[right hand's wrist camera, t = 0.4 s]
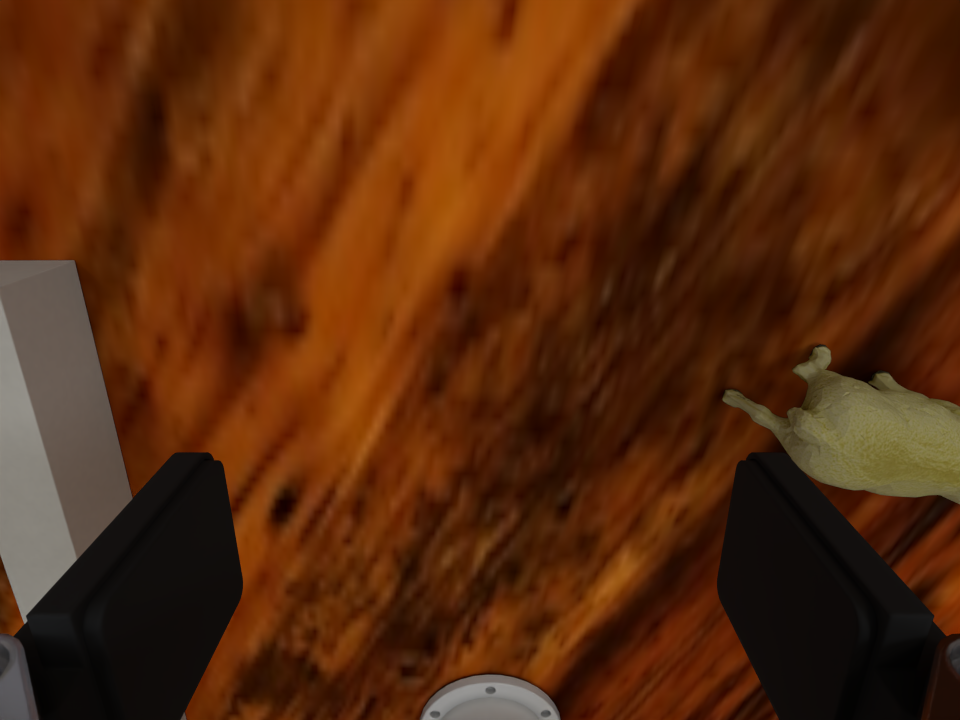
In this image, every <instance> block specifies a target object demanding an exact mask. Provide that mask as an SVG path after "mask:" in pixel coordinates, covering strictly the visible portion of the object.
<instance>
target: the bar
mask: <svg viewBox="0 0 960 720" xmlns="http://www.w3.org/2000/svg"><path fill="white" fill-rule="evenodd" d="M132 499H133V498H132V494H131V490H130V486H129V482H128V478H127V474H126V470H125V465H124V461H123V457H122V453H121V449H120V445H119V441H118V437H117V433H116V429H115V424H114V420H113V416H112V412H111V408H110V404H109V400H108V396H107V392H106V387H105V383H104V379H103V375H102V371H101V367H100V363H99V359H98V355H97V351H96V346H95V342H94V338H93V334H92V330H91V326H90V322H89V318H88V314H87V310H86V305H85V301H84V297H83V293H82V289H81V285H80V281H79V277H78V273H77V269H76V264H75V261H74V260H25V261H0V555H1V558H2V561H3V564H4V567H5V570H6V572H7V575H8V578H9V581H10V584H11V587H12V590H13V593H14V595H15V598H16V601H17V604H18V607H19V610H20V613H21V616H22V618H23V621H24V624H25V623H26V622H27V618H26V615H27V614H28V613H29V612H30V611H31V610H32V608H33V607H34V606H35V605H36V604H37V603H38V602H39V601H40V600H41V599H42V597H43V596H44V595H45V594H46V593H47V592H48V591H49V590H50V589H51V588H52V587H53V585H54V584H55V583H56V582H57V581H58V580H59V579H60V578H61V577H62V576H63V574H64V573H65V572H66V571H67V570H68V569H69V568H70V567H71V566H72V565H73V563H74V562H75V561H76V560H77V559H78V558H79V557H80V556H81V555H82V554H83V553H84V551H85V550H86V549H87V548H88V547H89V546H90V545H91V544H92V543H93V542H94V540H95V539H96V538H97V537H98V536H99V535H100V534H101V533H102V532H103V531H104V529H105V528H106V527H107V526H108V525H109V524H110V523H111V522H112V521H113V520H114V519H115V517H116V516H117V515H118V514H119V513H120V512H121V511H122V510H123V509H124V508H125V506H126V505H127V504H128V503H129V502H130V501H131V500H132ZM181 720H186V716H185V712H184V714H183V716H182V718H181Z"/></svg>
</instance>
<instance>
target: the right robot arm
mask: <svg viewBox="0 0 960 720" xmlns="http://www.w3.org/2000/svg"><path fill="white" fill-rule="evenodd" d="M242 590H243V578H242V572H241V566H240V560H239V554H238V549H237V543H236V537H235V531H234V525H233V519H232V513H231V508H230V502H229V496H228V490H227V484H226V478H225V472H224V467H223V464H222V463H221V461H219V460H214V458H213V457H212V455H211V454H210V453H175V454H173V455H172V456H171V457H170V458H169V459H168V460H167V462H166V463H165V464H164V465H163V466H162V467H161V468H160V469H159V470H158V471H157V472H156V474H155V475H154V476H153V477H152V478H151V479H150V480H149V481H148V482H147V483H146V485H145V486H144V487H143V488H142V489H141V490H140V491H139V492H138V493H137V494H136V496H135V497H134V498H133V499H132V500H131V501H130V502H129V503H128V504H127V505H126V506H125V508H124V509H123V510H122V511H121V512H120V513H119V514H118V515H117V516H116V517H115V519H114V520H113V521H112V522H111V523H110V524H109V525H108V526H107V527H106V528H105V529H104V531H103V532H102V533H101V534H100V535H99V536H98V537H97V538H96V539H95V540H94V542H93V543H92V544H91V545H90V546H89V547H88V548H87V549H86V550H85V551H84V553H83V554H82V555H81V556H80V557H79V558H78V559H77V560H76V561H75V562H74V563H73V565H72V566H71V567H70V568H69V569H68V570H67V571H66V572H65V573H64V574H63V576H62V577H61V578H60V579H59V580H58V581H57V582H56V583H55V584H54V585H53V587H52V588H51V589H50V590H49V591H48V592H47V593H46V594H45V595H44V596H43V597H42V599H41V600H40V601H39V602H38V603H37V604H36V605H35V606H34V607H33V608H32V610H31V611H30V612H29V613H28V614H27V615H26V618H27V622H26V623H25V624H24V625H23V626H22V628H21V629H20V630H19V631H18V632H17V633H16V634H15V635H14V636H11V635H9V634H0V720H181V718H182V716H183V714H184V712H185V710H186V708H187V706H188V704H189V702H190V700H191V698H192V696H193V694H194V692H195V690H196V688H197V686H198V684H199V682H200V680H201V678H202V676H203V674H204V672H205V670H206V668H207V666H208V664H209V662H210V660H211V658H212V656H213V654H214V652H215V650H216V648H217V646H218V644H219V642H220V640H221V638H222V636H223V634H224V632H225V630H226V628H227V626H228V624H229V622H230V620H231V617H232V615H233V613H234V611H235V609H236V607H237V605H238V603H239V601H240V599H241V595H242ZM717 590H718V595H719V599H720V601H721V603H722V605H723V607H724V609H725V611H726V613H727V615H728V617H729V620H730V622H731V624H732V626H733V628H734V630H735V632H736V634H737V636H738V638H739V640H740V642H741V644H742V646H743V648H744V650H745V652H746V654H747V656H748V658H749V660H750V662H751V664H752V666H753V668H754V670H755V672H756V674H757V676H758V678H759V680H760V682H761V684H762V686H763V688H764V690H765V692H766V694H767V696H768V698H769V700H770V702H771V704H772V706H773V708H774V710H775V712H776V714H777V716H778V718H779V720H960V634H951V635H949V636H946V635H945V634H944V633H943V632H942V631H941V630H940V629H939V628H938V626H937V625H936V624H935V623H934V622H933V618H934V615H933V614H932V613H931V612H930V611H929V610H928V608H927V607H926V606H925V605H924V604H923V603H922V602H921V601H920V600H919V599H918V597H917V596H916V595H915V594H914V593H913V592H912V591H911V590H910V589H909V588H908V587H907V585H906V584H905V583H904V582H903V581H902V580H901V579H900V578H899V577H898V576H897V574H896V573H895V572H894V571H893V570H892V569H891V568H890V567H889V566H888V565H887V563H886V562H885V561H884V560H883V559H882V558H881V557H880V556H879V555H878V554H877V553H876V551H875V550H874V549H873V548H872V547H871V546H870V545H869V544H868V543H867V542H866V540H865V539H864V538H863V537H862V536H861V535H860V534H859V533H858V532H857V531H856V529H855V528H854V527H853V526H852V525H851V524H850V523H849V522H848V521H847V520H846V519H845V517H844V516H843V515H842V514H841V513H840V512H839V511H838V510H837V509H836V508H835V506H834V505H833V504H832V503H831V502H830V501H829V500H828V499H827V498H826V497H825V496H824V494H823V493H822V492H821V491H820V490H819V489H818V488H817V487H816V486H815V485H814V483H813V482H812V481H811V480H810V479H809V478H808V477H807V476H806V475H805V474H804V472H803V471H802V470H801V469H800V468H799V467H798V466H797V465H796V464H795V463H794V462H793V460H792V459H791V458H790V457H789V456H788V455H787V454H785V453H750V454H749V455H748V457H747V458H746V460H741V461H739V463H738V464H737V467H736V472H735V478H734V484H733V490H732V496H731V502H730V508H729V513H728V519H727V525H726V531H725V537H724V543H723V549H722V554H721V560H720V566H719V572H718V578H717ZM420 720H560V715H559V712H558V710H557V708H556V706H555V704H554V703H553V701H552V700H551V699H550V698H549V696H548V695H547V694H545V693H544V692H543V691H542V690H540V689H539V688H538V687H536V686H534V685H532V684H530V683H528V682H526V681H523V680H520V679H517V678H514V677H509V676H503V675H478V676H472V677H468V678H464V679H460V680H458V681H456V682H453V683H451V684H449V685H447V686H445V687H444V688H442V689H441V690H439V691H438V692H437V693H436V694H435V695H434V696H433V697H432V698H431V699H430V700H429V701H428V703H427V704H426V706H425V707H424V709H423V712H422V715H421V717H420Z"/></svg>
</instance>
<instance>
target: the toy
mask: <svg viewBox="0 0 960 720" xmlns="http://www.w3.org/2000/svg"><path fill="white" fill-rule="evenodd" d="M830 362H831V355H830V350H829V349H828V348H827V347H826V346H825V345H821V344H820V345H818V346H816V347H815V348H814V349H813V351H812V353H811V354H810V356H809V360H808V361H807V362H805V363H802V364H798V365H797V366H796V367H794V368H793V369H792V370H793V372H794V373H795V374H797V375H798V376H799V377H800V378H801V379H802V380H804V381H805V382H807V383H808V390H807V393H806V398H805V400H804V402H803V404H802V406H801V408H795V407H794V408H791V409H789V410H788V412H787V415H788V418H782V417H779V416H777V415H775V414H773V413H771V411H770V410H769V409H768V408H766V407H765V406H763V405H759V404H756V403H755V402H753V401H751V400H750V399H748V398H745V397H744V396H743V395H742V393H741V392H739V391H738V390H733V389H729V390H725V392H724V394H723V399H722V400H723V401H724V402H725V403H726V404H728V405H730V406H733V407H739V408H741V409H743V410H744V411H746V412H747V413H748V414H749V415H750V416H751V418H752V420H753V421H754V422H756V423H758V424H759V425H762V426H764V427H766V428H768V429H770V430H771V431H772V432H773V433H774V434H775V436H776V437H777V438H778V440H779V441H780V442H781V444H782V446H783V447H784V448H785V450H786V451H787V453H788V454H789V455H790V457H791V459H792V460H793V461H794V462H795V463H796V464H797V466H798V467H799V468H800V469H801V470H803V471H804V472H805V473H807V474H808V475H809V476H811V477H812V478H814V479H816V480H818V481H819V482H822V483H825V484H829V485H832V486H836V487H840V488H844V489H849V490H866V491H869V492H873V493H876V494H880V495H888V496H902V497H920V496H926V495H942V496H943V497H945V498H947V499H950V500H952V501H954V502H956V503H958V504H960V407H959V406H957V405H955V404H953V403H951V402H948V401H944V400H938V399H929V398H928V397H926V396H924V395H923V394H920V393H916V392H913V391H910V390H907V389H905V388H904V387H902V386H900V385H898V384H897V383H896V382H895V381H894V380H893V379H892V377H891V376H890V374H889V373H888V372H885V371H881V370H880V371H878V372H876V373H874V374H873V376H872V378H871V380H870V381H868V382H869V384H871V385H873V386H875V387H877V388H878V389H879V390H876V389H874V388H873V387H871V386H870V385H868V384H867V383H865V382H863V381H859V380H855V379H853V378H849V377H844V376H841V375H839V374H837V373H835V372H832V371H828V370H825V369H826V368H827V366H828V365H829V364H830Z"/></svg>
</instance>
